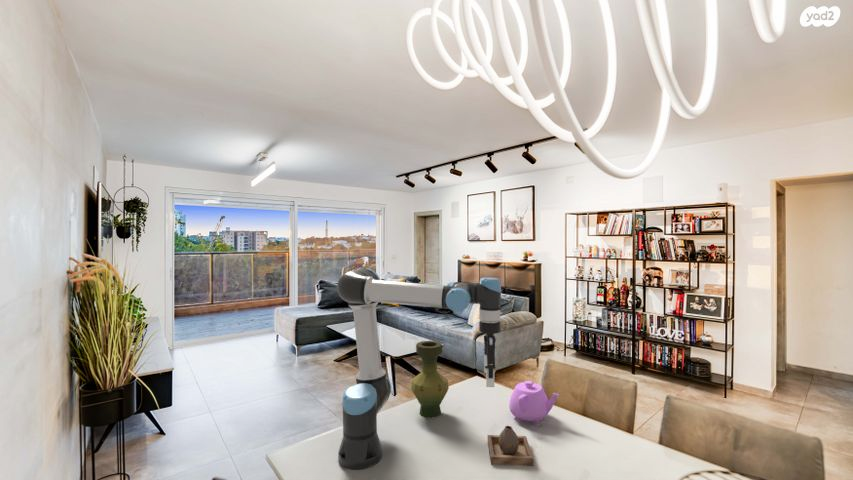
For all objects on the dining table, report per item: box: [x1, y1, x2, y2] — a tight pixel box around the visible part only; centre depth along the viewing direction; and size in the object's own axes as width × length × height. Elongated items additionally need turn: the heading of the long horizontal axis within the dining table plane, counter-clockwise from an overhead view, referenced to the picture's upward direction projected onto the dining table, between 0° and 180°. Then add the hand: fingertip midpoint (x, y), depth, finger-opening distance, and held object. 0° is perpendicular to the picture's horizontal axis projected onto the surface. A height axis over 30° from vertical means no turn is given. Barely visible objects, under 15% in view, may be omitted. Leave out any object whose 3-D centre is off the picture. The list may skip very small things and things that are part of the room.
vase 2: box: [499, 425, 519, 455], centre depth 132 cm, size 7×7×9 cm
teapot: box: [508, 380, 560, 426], centre depth 156 cm, size 20×20×15 cm
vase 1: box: [410, 340, 449, 419], centre depth 164 cm, size 16×16×30 cm
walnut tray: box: [487, 434, 535, 467], centre depth 132 cm, size 14×14×3 cm
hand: (488, 379), depth 136 cm, fingers open, 13 cm apart
